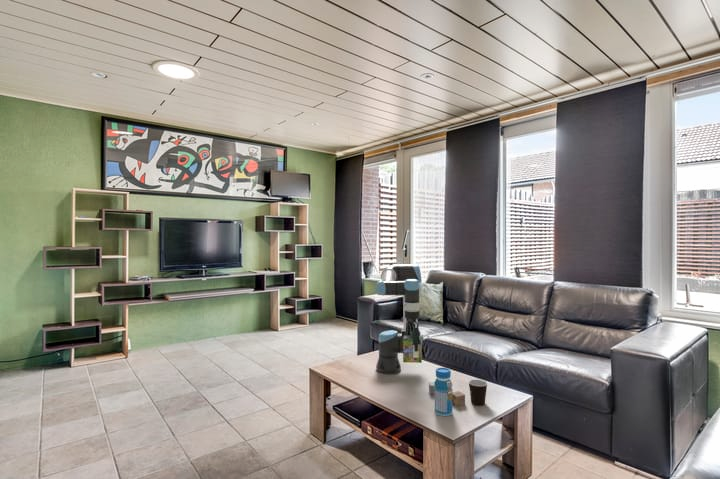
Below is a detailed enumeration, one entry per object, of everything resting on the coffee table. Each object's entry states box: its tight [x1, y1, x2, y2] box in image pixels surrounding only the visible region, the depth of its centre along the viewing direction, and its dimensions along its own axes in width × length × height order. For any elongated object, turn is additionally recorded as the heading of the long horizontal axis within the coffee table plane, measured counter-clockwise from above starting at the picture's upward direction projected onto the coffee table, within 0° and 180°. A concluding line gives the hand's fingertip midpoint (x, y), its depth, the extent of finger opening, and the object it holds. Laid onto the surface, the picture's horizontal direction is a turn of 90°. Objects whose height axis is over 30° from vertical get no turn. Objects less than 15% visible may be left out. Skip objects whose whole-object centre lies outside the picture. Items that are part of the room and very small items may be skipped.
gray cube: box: [428, 381, 435, 396], centre depth 202 cm, size 5×5×5 cm
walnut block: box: [452, 390, 466, 408], centre depth 189 cm, size 5×5×5 cm
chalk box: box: [402, 331, 423, 364], centre depth 195 cm, size 9×9×15 cm
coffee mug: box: [468, 379, 488, 407], centre depth 191 cm, size 12×9×10 cm
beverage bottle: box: [434, 367, 454, 417], centre depth 180 cm, size 8×8×20 cm
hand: (412, 353), depth 195 cm, fingers closed on chalk box, 11 cm apart
